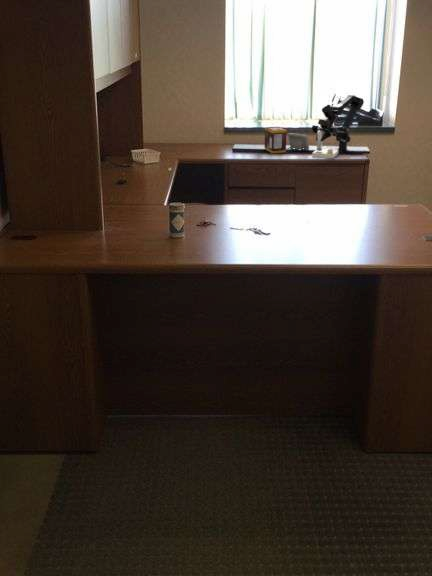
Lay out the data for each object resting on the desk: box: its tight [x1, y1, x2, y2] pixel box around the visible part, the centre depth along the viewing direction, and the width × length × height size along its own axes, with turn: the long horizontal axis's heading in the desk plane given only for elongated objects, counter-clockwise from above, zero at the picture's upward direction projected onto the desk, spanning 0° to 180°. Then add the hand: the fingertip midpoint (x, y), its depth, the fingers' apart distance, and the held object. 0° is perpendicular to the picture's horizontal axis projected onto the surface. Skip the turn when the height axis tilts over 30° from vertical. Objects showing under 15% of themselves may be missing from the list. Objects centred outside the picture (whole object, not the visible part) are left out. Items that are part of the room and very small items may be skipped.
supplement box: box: [264, 126, 288, 154], centre depth 442 cm, size 10×15×16 cm
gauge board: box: [311, 148, 339, 159], centre depth 431 cm, size 16×14×5 cm
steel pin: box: [316, 130, 324, 151], centre depth 425 cm, size 4×4×13 cm
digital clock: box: [287, 132, 310, 150], centre depth 450 cm, size 16×9×11 cm, turn 38°
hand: (318, 140), depth 424 cm, fingers closed on steel pin, 4 cm apart
